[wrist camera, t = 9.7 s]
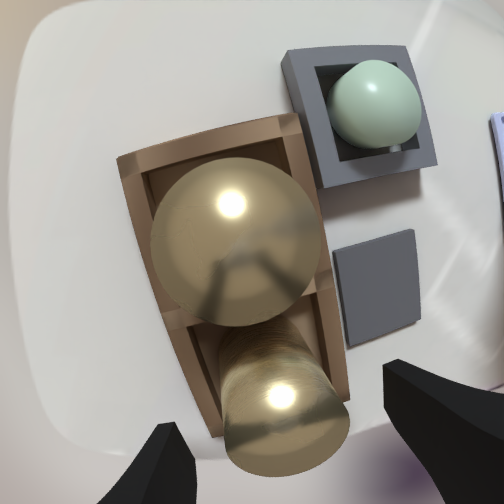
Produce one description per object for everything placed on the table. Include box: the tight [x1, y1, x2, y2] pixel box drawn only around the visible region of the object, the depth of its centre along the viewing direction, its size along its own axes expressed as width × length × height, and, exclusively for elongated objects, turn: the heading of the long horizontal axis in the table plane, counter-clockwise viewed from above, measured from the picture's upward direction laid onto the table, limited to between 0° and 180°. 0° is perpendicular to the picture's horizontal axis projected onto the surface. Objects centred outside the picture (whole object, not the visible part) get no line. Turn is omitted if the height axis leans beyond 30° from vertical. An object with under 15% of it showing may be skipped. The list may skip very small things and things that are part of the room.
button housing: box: [281, 45, 438, 188], centre depth 13 cm, size 6×6×2 cm
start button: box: [327, 60, 421, 149], centre depth 12 cm, size 4×4×2 cm
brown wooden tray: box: [116, 112, 350, 438], centre depth 14 cm, size 8×14×2 cm, turn 14°
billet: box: [218, 315, 350, 477], centre depth 12 cm, size 4×4×6 cm
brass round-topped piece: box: [150, 157, 321, 326], centre depth 10 cm, size 4×4×6 cm
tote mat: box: [333, 229, 421, 346], centre depth 15 cm, size 4×5×1 cm
